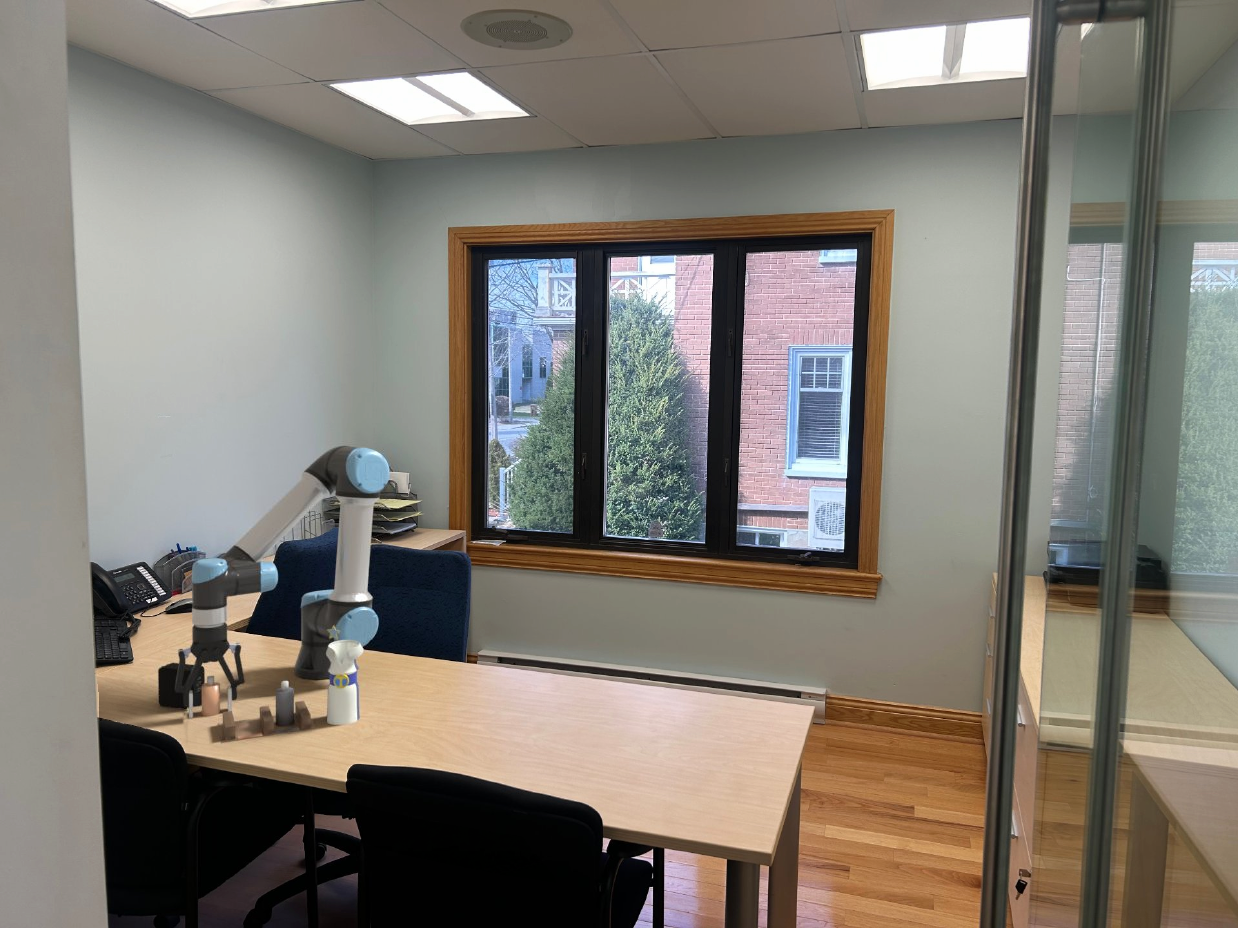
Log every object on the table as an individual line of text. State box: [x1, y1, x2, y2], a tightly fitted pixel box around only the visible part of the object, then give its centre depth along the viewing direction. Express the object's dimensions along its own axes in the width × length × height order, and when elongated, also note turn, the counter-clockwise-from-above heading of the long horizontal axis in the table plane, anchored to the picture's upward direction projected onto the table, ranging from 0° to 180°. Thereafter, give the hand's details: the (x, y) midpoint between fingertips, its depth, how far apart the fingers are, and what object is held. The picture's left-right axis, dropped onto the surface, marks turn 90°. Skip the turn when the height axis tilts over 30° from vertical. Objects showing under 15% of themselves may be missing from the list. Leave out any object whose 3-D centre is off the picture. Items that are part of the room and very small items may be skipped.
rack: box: [217, 700, 316, 744], centre depth 195 cm, size 20×12×4 cm, turn 119°
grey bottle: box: [275, 680, 295, 727], centre depth 196 cm, size 4×4×10 cm
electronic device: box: [157, 662, 206, 710], centre depth 208 cm, size 4×10×10 cm, turn 79°
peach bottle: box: [201, 675, 221, 717], centre depth 201 cm, size 4×4×10 cm
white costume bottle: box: [326, 625, 364, 726], centre depth 199 cm, size 8×9×25 cm
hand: (210, 715), depth 201 cm, fingers open, 8 cm apart
